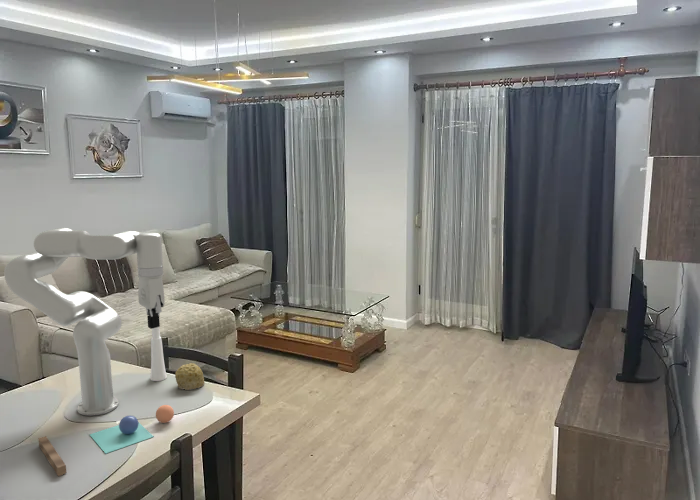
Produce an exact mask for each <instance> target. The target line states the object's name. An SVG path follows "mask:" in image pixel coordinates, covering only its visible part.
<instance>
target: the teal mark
mask: <svg viewBox="0 0 700 500" xmlns="http://www.w3.org/2000/svg"><path fill="white" fill-rule="evenodd" d="M138 423H139V424H138V428H137V430H136V431H135V432H134V433H132V434H124V433H122V432H121V431H120V429H119V424H116V425H115V426H111V427H108V428H105V429H102V430H99V431H95V432H92V433H90V434H89V436H90V437H91V438H92V440H93V441H94V442H95V443H96V445H98V447H99V448H100V450H102V451H104V452H103V453H104V454H109V453H112V452H116V451H118V450H121V449H123V448H127V447H129V446H133V445H136V444H137V443H138V444H139V443H140V442H143V441H146V440H148V439H153V438H155V437H154V435H153V434H152V433H151V432H149V431H148V429H146V428H145V426H144V425H142V424H141V422H139V421H138Z"/></svg>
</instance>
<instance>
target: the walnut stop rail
mask: <svg viewBox="0 0 700 500" xmlns="http://www.w3.org/2000/svg"><path fill="white" fill-rule="evenodd" d="M37 440H38V447H39V449H40V450H41V452H42V454H43V455H44V456H45V458H46V460H47V461H48V463H49V464H50V466H51V467H52V469H53V471H54V472H55V473H56V475H57V477H61V476H64V475H66V474H65V473H67V466H66V463H65V462H64V461H63V459H62V457H61V456H60V455H59V453H58V452H57V450H56V449H55V447H54V445H53V444H52V442H51V441H50V440H49V438H48V437H47V436H46V435H45V436H42V437H38V439H37ZM63 474H64V475H63Z"/></svg>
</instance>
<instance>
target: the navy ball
mask: <svg viewBox="0 0 700 500" xmlns="http://www.w3.org/2000/svg"><path fill="white" fill-rule="evenodd" d="M138 422H139V420H138V419H137V417H136V416H134V415H125V416H124V417H122V418H121V419H120V421H119V424H118V425H119V429H120V431H121V432H122V433H124V434H132V433H134V432H135V431H136V430H137V428H138V424H139V423H140V422H139V423H138Z"/></svg>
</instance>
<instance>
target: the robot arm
mask: <svg viewBox="0 0 700 500" xmlns="http://www.w3.org/2000/svg"><path fill="white" fill-rule="evenodd" d="M162 241H163V240H162V236H161V234H160V233H158V232H151V231H150V232H140V231H136V230H126V231H122V232H119V233H114V234H110V235H109V234H108V235H92V234H90V232H88V231H86V230H84V229H83V230H82V229H81V230H77V229H75V230H73V229H71V228H69V227H59V228H54V229H49V230H46V231H42V232H40V233H39V234H38V235H37V236H35V238H34V241H33V248H34V250H35V251H34V252H31V253H27V254H22V255H20V256H17V257H14V258H12V259H11V260H10V261H9V262H7V264H6V265H5V267H4V271H3V272H4V273H3V276H4V280H5V282H6V285H7V287H8V288H9V290H10V291H11V292H12V293H13V294H14V295H15V296H17V297H18V298H20V299H22V300H23V301H25V302H27V303H28V304H30V305H32V306H33V307H34V308H35V309H37V310H38V311H39V312H41V313H43V314H44V315H45V316H47V317H48V318H49V319H51V320H52V321H53V322H55V323H57V324H58V325H60V326H62V327H66V326H67V327H68V326H71V325H74V324H75V323H77V324H76V325H75V326H74V328H73V331H72V338H73V342H74V344H75V347H76V353H77V361H78V368H79V369H78V370H79V372H78V373H79V381H80V382H79V384H80V392H81V393H80V394H81V402H80V403H79V404H78V406H77V413H78V414H80V415H82V416H88V417H89V416H91V417H92V416H99V415H104V414H108V413H109V412H111V411H113V410H115V409H116V408H117V407H118V406H119V404H120V403H119V398H117V397H116V396H114V392H113V391H114V390H113V388H114V387H113V378H112V377H113V375H112V374H113V373H112V364H111V363H112V361H111V353H110V350H109V348H108V346H107V344H106V340H108V339H109V338H111V337H113V336H114V335H116V334H117V333H118V332H119V331H120V330H121V327H122V326H123V325H122V323H123V321H122V318H121V316H120V315H119V313H118V312H117V311H116V310H114V308H112V307H110V306H109V305H108V304H106V303H105V302H103V301H102V300H101V299H99V298H98V297H96V296H95V294H92V293H91V292H88V291H84V290H79V291H78V290H77V291H74V292H71V293H64V292H62V291H61V290H59V289H58V288H57V287H55V286H54V285H52V284H51V283H48V282H46V281H42V280H40V278H43V277H46V276H49V275H51V274H53V273H55V272H56V271H57V270H58V269H59V268H60V267H61V265H63V264H64V263H65V261H67V259H68V258H84V259H89V260H95V261H96V260H97V261H98V260H102V261H103V260H108V261H109V260H120V259H122V258H123V259H124V258H125V257H129V256H131V255H135V254H136V261H137V263H136V264H137V278H138V285H137V288H138V291H137V292H138V304H139V305H140V306H142V307H144V308H145V310H146V315H147V318H146V319H147V328H149V329H151V330H152V328H157V327H160V326H161V325H160V314H161V313H162V312H163V311H162V308H163V307H165V290H164V289H165V288H164V284H163V283H164V282H163V277H164V262H163V258H164V257H163V246H162V245H163V242H162Z"/></svg>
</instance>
